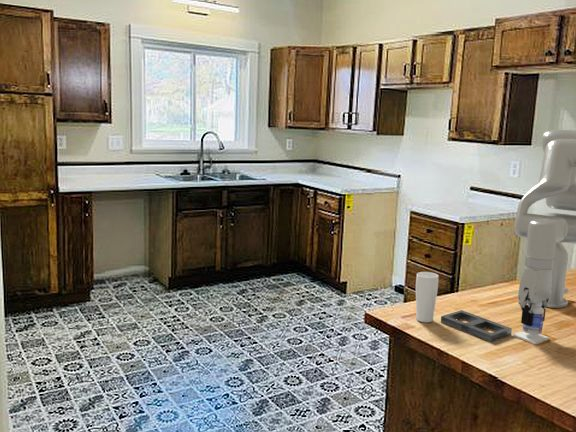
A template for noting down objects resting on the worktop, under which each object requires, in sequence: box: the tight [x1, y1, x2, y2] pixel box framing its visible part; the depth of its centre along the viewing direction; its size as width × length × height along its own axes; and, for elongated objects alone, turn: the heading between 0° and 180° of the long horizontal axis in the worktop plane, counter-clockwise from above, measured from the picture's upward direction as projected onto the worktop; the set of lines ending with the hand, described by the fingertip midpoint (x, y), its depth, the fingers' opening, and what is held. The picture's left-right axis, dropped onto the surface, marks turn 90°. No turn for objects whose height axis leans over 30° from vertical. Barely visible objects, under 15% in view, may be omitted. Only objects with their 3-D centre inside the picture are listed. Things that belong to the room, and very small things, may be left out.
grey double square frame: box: [440, 309, 513, 343], centre depth 165 cm, size 10×18×2 cm, turn 35°
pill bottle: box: [521, 299, 545, 335], centre depth 158 cm, size 5×5×10 cm
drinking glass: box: [415, 271, 439, 323], centre depth 170 cm, size 7×7×15 cm
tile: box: [512, 330, 550, 346], centre depth 159 cm, size 7×7×1 cm
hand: (532, 321), depth 158 cm, fingers closed on pill bottle, 5 cm apart
